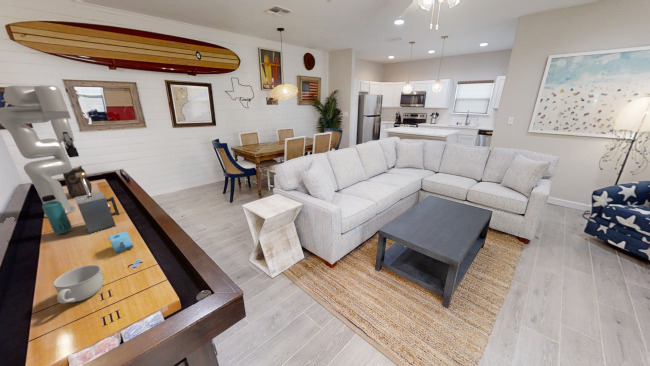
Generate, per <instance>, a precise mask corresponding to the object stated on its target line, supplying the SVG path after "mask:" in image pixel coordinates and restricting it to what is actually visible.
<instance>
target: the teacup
mask: <svg viewBox="0 0 650 366" xmlns="http://www.w3.org/2000/svg"><path fill="white" fill-rule="evenodd" d="M52 284H53V286H54V288H55V290H56V293H57V296H56V299H57V302H58V304H59V303H60V304H67V303H75V302H77V301H78V302H82V301H84V300H85V301H86V300H87V299H89V298H91V297H92V296H94V295H96V293H98V292H99V291H100V290H101V288H102V287H103V285H104V277H103V274H102V269H101V266H100V265H97V264H87V265H83V266H80V267H79V266H78V267H76V268H73V269H70V270H68V271H66V272H64V273H63V274H61V275H59V276H58V277H57V278H55V280H54V281H53V283H52ZM78 302H77V303H78Z"/></svg>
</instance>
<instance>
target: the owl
mask: <svg viewBox="0 0 650 366" xmlns="http://www.w3.org/2000/svg"><path fill="white" fill-rule="evenodd" d="M79 172H86V170H85V169H84V168H83V165H79V166H77V167H76V166H75V167H73V168H72V170H71V171H70V172H68V173H64V174H62V175H63V178H64V182H65V187H66V188H67V192H68V195H69V196H70V197H71V198H72V197H73V199H74V198H75V197H79V196H84V195H87V193H86V191H85V188H84V186H83V183H82V181H81V178H77V177H76V175H75V173H79ZM84 179H85V181H86V184H87V186H88V189H89V192H90V193H91V191H92V190H93V189H92V188H93V187H92V183H91V181H90V180H88V175H87V176H85V177H84ZM91 194H92V193H91Z"/></svg>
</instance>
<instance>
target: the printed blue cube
mask: <svg viewBox="0 0 650 366" xmlns="http://www.w3.org/2000/svg"><path fill="white" fill-rule="evenodd" d="M108 239H109V241H110V244H111V247H112V249H113V251H114V254H115V255H116V254H120V253H121V254H122V252H125V251H127V250H128V251H129V250H131V249H133V248H134V245H133V242H132V240H131V237H130V234H129V233H128V231H127V230H124V231H121V232H118V233H115V234H112V235H108Z"/></svg>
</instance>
